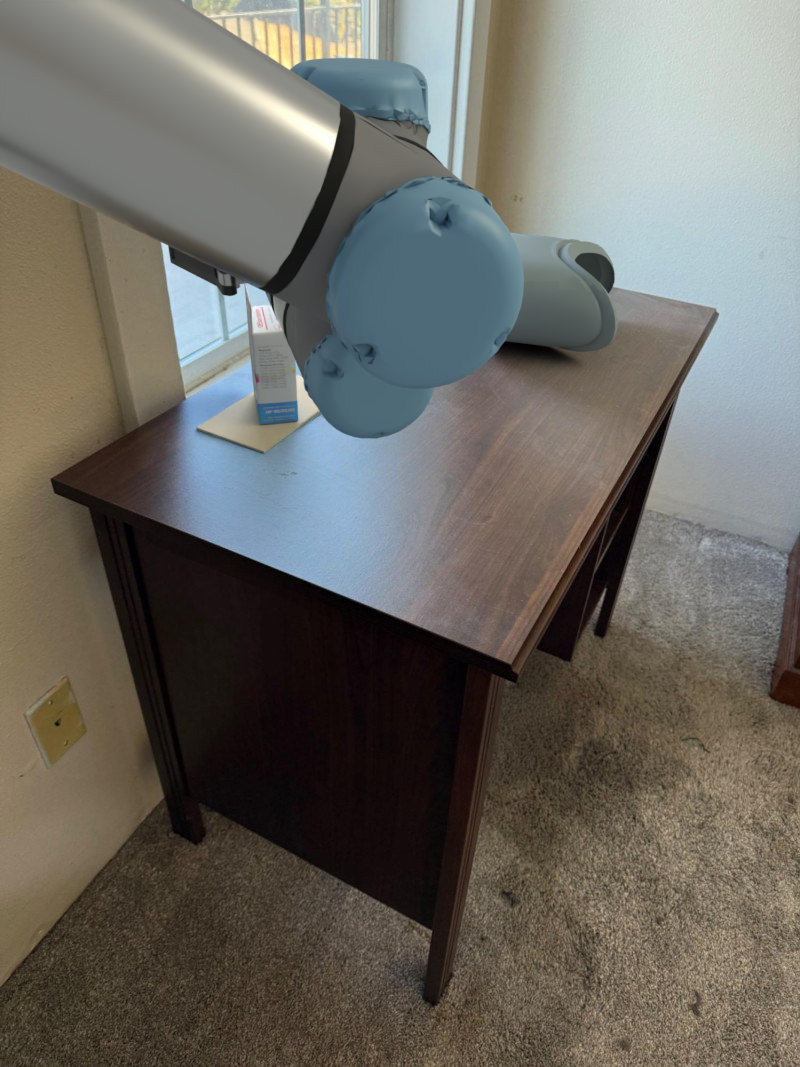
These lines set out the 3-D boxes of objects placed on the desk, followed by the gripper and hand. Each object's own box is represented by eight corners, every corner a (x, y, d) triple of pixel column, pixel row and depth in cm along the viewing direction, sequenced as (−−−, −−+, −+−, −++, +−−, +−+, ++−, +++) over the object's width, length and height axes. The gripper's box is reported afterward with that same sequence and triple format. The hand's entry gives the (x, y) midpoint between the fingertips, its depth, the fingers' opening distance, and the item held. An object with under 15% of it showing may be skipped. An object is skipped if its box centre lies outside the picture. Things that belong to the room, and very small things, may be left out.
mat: (264, 453, 86) (263, 451, 85) (196, 429, 89) (196, 427, 89) (347, 391, 98) (347, 389, 98) (285, 372, 102) (284, 370, 101)
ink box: (300, 422, 91) (294, 304, 82) (259, 426, 90) (248, 306, 81) (291, 390, 97) (284, 277, 88) (252, 393, 96) (241, 279, 87)
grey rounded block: (491, 300, 125) (500, 221, 117) (606, 313, 123) (624, 232, 115) (475, 355, 108) (485, 266, 100) (609, 371, 106) (629, 281, 98)
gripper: (154, 361, 54) (143, 263, 69) (476, 330, 60) (399, 247, 76) (135, 255, 49) (127, 176, 65) (486, 234, 55) (401, 167, 71)
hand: (273, 214), depth 70 cm, fingers open, 13 cm apart
